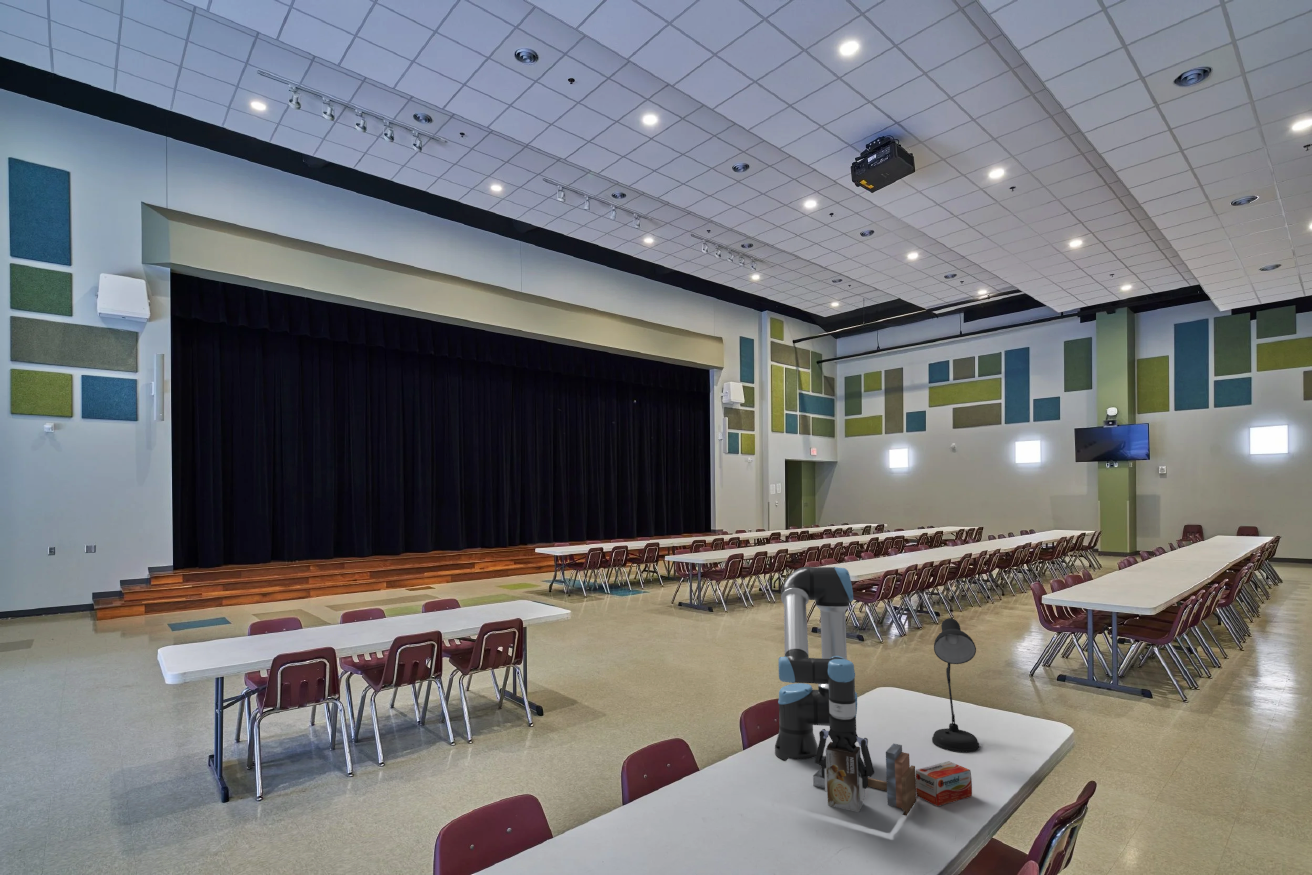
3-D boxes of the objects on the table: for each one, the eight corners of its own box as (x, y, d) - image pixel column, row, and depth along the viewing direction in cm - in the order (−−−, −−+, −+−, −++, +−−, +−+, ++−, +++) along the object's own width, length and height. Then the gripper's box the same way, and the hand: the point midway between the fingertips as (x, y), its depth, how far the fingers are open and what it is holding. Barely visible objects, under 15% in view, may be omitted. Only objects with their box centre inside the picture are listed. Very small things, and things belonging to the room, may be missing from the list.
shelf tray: (809, 790, 204) (807, 736, 206) (822, 777, 213) (820, 726, 215) (906, 815, 188) (904, 757, 189) (916, 800, 197) (914, 745, 198)
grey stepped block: (813, 785, 205) (812, 760, 205) (822, 776, 211) (822, 751, 212) (837, 791, 200) (836, 765, 201) (846, 782, 207) (845, 757, 207)
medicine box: (950, 786, 207) (949, 759, 207) (973, 796, 199) (971, 769, 200) (915, 796, 200) (914, 769, 201) (937, 807, 193) (936, 779, 193)
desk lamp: (960, 763, 223) (954, 627, 227) (902, 738, 247) (897, 615, 251) (1010, 751, 234) (1003, 621, 237) (950, 728, 257) (944, 610, 261)
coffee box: (863, 803, 193) (861, 746, 194) (859, 812, 187) (857, 754, 188) (831, 796, 197) (830, 740, 198) (826, 805, 192) (824, 748, 193)
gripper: (801, 711, 197) (803, 789, 196) (876, 726, 185) (879, 810, 183) (811, 704, 203) (813, 780, 202) (884, 718, 191) (887, 799, 189)
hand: (844, 794), depth 192 cm, fingers closed on coffee box, 9 cm apart
